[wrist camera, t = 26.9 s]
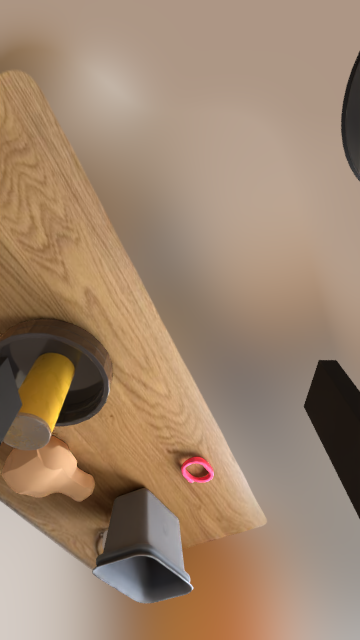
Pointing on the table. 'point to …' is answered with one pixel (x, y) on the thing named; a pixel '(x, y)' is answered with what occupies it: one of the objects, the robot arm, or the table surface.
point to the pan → (72, 343)
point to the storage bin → (143, 550)
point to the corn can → (40, 401)
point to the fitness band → (199, 461)
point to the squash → (47, 472)
